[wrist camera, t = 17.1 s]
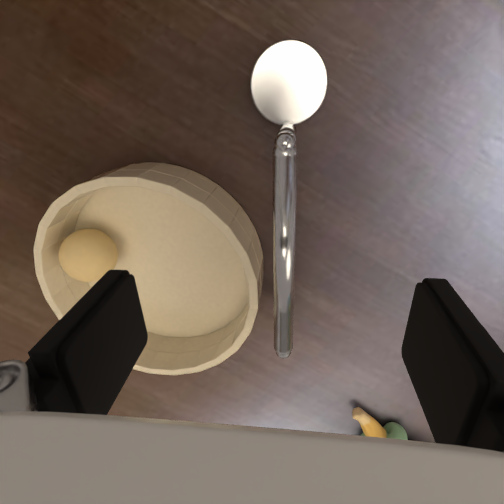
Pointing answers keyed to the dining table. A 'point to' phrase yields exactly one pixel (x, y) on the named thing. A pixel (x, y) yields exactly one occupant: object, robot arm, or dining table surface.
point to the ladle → (286, 156)
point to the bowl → (164, 260)
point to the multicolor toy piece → (378, 426)
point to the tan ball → (88, 255)
